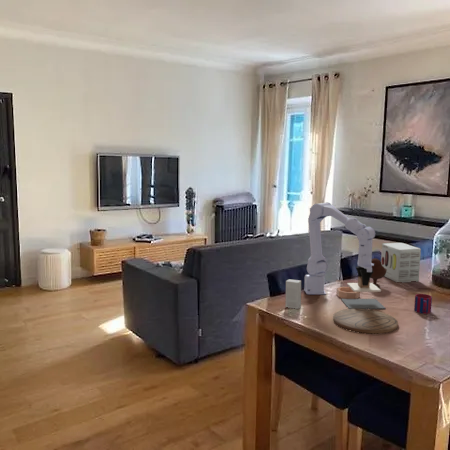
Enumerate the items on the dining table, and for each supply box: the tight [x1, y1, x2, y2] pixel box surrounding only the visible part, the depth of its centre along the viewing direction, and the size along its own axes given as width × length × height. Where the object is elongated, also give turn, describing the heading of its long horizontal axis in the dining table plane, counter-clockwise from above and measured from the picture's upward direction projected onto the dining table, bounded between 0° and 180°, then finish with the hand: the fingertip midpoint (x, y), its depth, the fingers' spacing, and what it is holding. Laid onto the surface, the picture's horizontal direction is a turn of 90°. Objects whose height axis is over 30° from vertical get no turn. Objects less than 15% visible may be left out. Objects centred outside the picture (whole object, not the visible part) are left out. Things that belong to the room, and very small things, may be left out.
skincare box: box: [285, 278, 302, 310], centre depth 204 cm, size 6×4×12 cm
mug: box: [413, 293, 433, 315], centre depth 198 cm, size 7×10×7 cm
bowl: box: [336, 286, 361, 299], centre depth 222 cm, size 10×10×3 cm
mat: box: [340, 298, 386, 310], centre depth 209 cm, size 16×13×1 cm
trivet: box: [332, 308, 399, 335], centre depth 187 cm, size 25×25×2 cm
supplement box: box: [380, 242, 422, 283], centre depth 253 cm, size 17×13×18 cm
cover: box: [346, 276, 382, 293], centre depth 208 cm, size 12×12×5 cm
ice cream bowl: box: [370, 257, 387, 289], centre depth 236 cm, size 11×11×15 cm
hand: (363, 283), depth 208 cm, fingers closed on cover, 4 cm apart
